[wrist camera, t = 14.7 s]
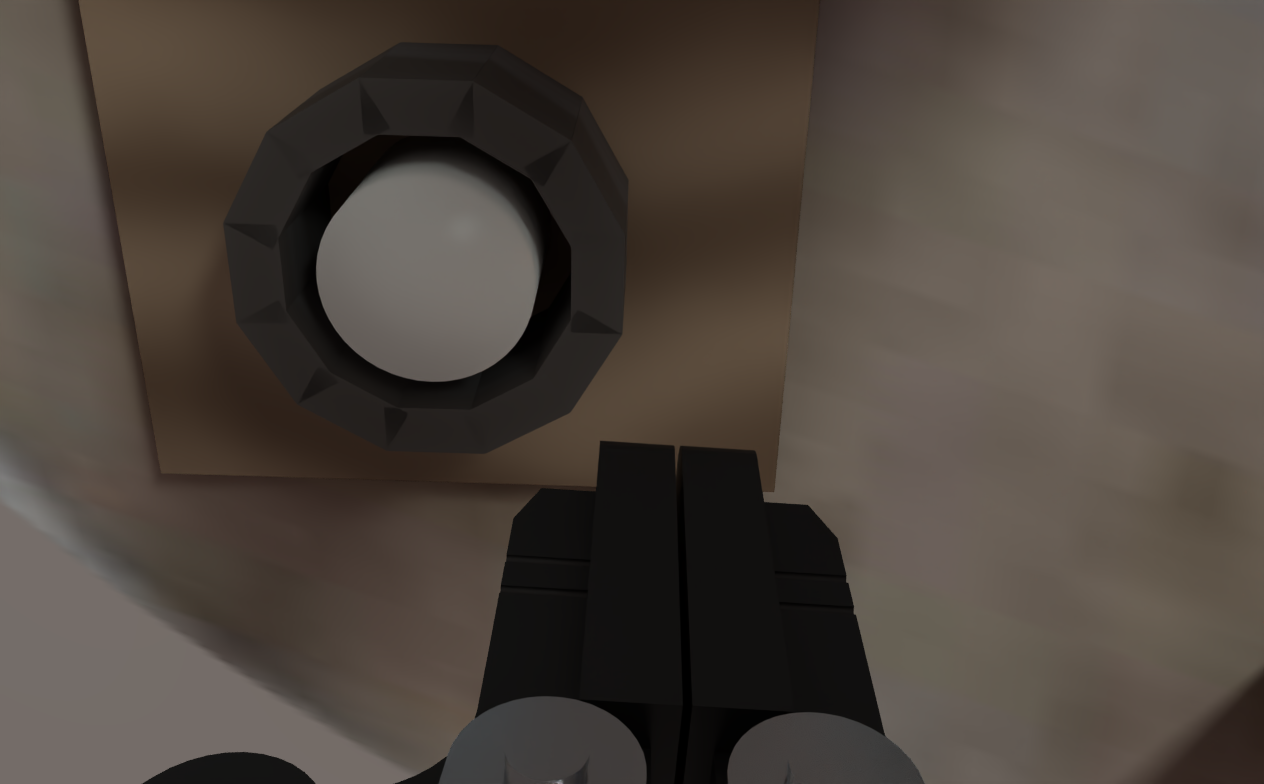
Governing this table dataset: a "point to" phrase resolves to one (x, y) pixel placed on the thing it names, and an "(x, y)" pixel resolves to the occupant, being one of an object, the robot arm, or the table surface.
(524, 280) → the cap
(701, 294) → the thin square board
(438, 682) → the table surface
